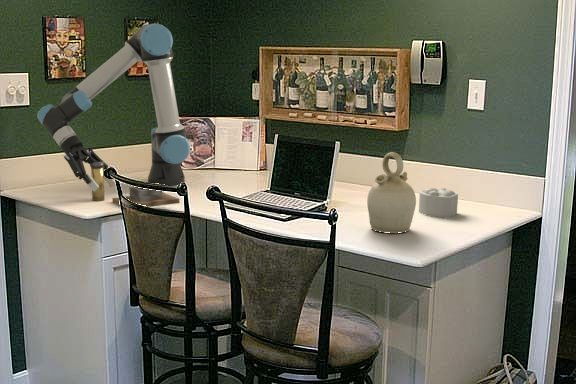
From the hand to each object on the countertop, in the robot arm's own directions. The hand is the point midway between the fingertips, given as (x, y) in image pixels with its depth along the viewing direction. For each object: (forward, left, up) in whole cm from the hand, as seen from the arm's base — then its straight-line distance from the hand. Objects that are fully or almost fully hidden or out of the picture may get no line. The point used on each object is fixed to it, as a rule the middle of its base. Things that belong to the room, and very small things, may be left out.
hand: (105, 187), depth 272 cm
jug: (-59, +88, -5) cm, 107 cm away
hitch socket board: (-11, +10, -5) cm, 16 cm away
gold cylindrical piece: (+2, -3, -5) cm, 6 cm away
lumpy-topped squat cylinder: (-89, +80, -5) cm, 120 cm away
